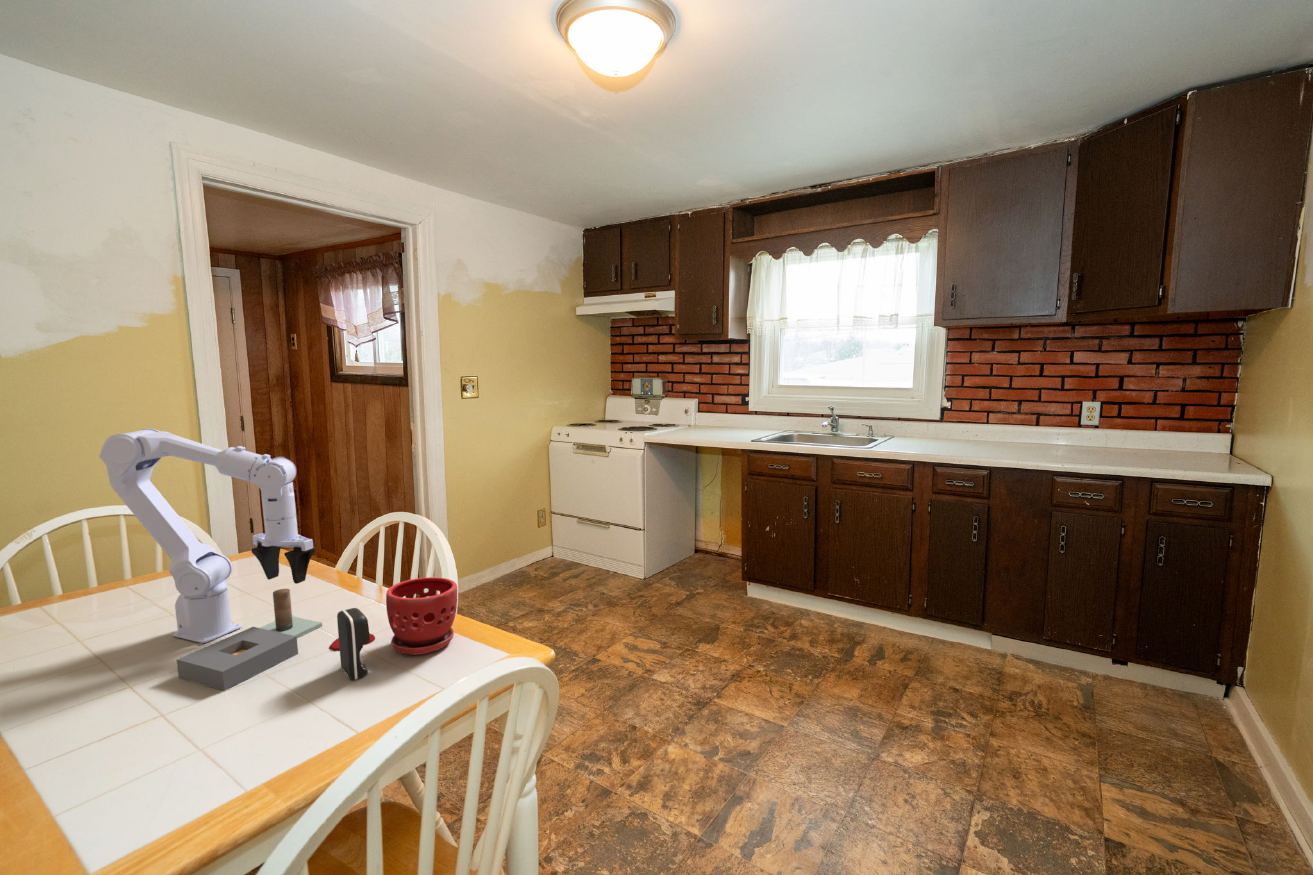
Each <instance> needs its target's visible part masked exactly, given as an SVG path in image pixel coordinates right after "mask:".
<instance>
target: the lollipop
mask: <svg viewBox="0 0 1313 875" xmlns="http://www.w3.org/2000/svg"><path fill="white" fill-rule="evenodd" d="M369 635H370V640H369V642H368V643H366V644H363V646H367V645H369V644H372V643H373V642H375V640H376V637H375V635H374V634H373V633H370V632H369ZM329 649H330V650H331V651H332V652H333V651H334V652H340V647H339V637H338V638H336V639H335V640H333V641H332V643H331V644H330V645H329Z"/></svg>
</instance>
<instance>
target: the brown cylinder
mask: <svg viewBox="0 0 1313 875" xmlns="http://www.w3.org/2000/svg"><path fill="white" fill-rule="evenodd" d="M291 598H292V597H291V589H289V588H281V589H280V588H279V589H277V590H274V591H273V592H272V600H273V610H274V612H273V613H274V621H275V623H276V631H286V630H289V629H291V628H292V627H293V622H292V616H293V613H292V612H293V610H292V599H291Z"/></svg>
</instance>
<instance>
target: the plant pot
mask: <svg viewBox="0 0 1313 875" xmlns="http://www.w3.org/2000/svg"><path fill="white" fill-rule="evenodd" d="M425 589H427V591H426V592H425V591H424V590H425ZM437 591H438V592H440V593H437ZM416 594H417V595H419V597H417V598H416V597H414V596H415V595H416ZM385 596H386V598H385V605H386V614H387V619H388V624H389V626H390V629H391V631H392V633H393V636H392V638H391V645H392V647H393V648H394V649H395V650H396V651H397V652H399V653H402V654H406V655H412V656H417V655H423V654H428V653H433V652H436V651H438V650H441V649H443V648H444V647H445V646H447V645H448V644H449V643H450V642H451V641H452V640H453V638H454V635H455V632H454V628H452V626H453V623H454V621H455V618H456V614H457V609H458V585H457V583H456V582H455V581H454V580H453V579H450V578H445V577H437V576H436V577H434V576H432V577H431V576H430V577H429V576H428V577H427V576H426V577H418V578H412V579H407V580H404V581H400V582H398V583H396V584H393V585H392V586H390V587H389V588H388V589H387V590H386V595H385Z"/></svg>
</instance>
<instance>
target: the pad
mask: <svg viewBox="0 0 1313 875" xmlns="http://www.w3.org/2000/svg"><path fill="white" fill-rule="evenodd" d="M292 622H293V627H292V628H291V629H289V630H286V631H276V623H275V620H273V621H272V622H270V623H268V624H265V625H263V626H261V627H260V628H261V629H266V630H270V631H275V632H279V633H283V634H288V635H292V636H297V639H298V638H301V637H302V636H305V635H307V634H309V633H311V632H313V631H316V630H318V629H320V628H322V627H323V622H320V621H316V620H311V619H306V618H301V617H297V616H293V615H292Z"/></svg>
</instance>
